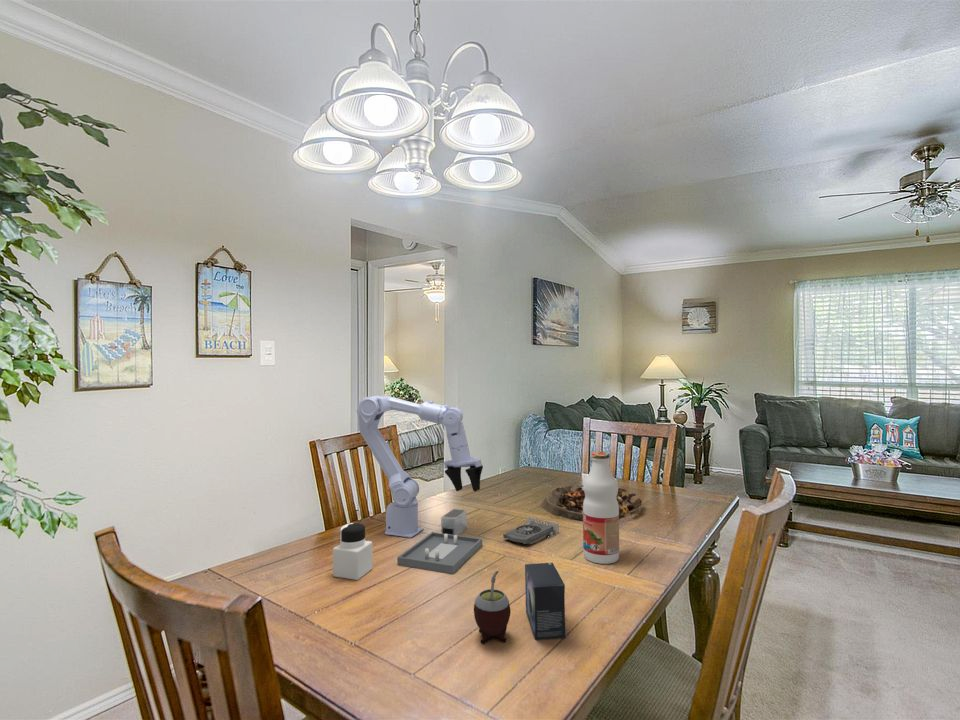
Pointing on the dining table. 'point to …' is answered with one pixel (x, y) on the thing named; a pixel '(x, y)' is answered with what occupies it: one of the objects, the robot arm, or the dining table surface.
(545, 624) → the small box
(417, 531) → the robot arm
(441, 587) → the dining table surface
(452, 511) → the block
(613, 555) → the fruit juice
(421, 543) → the tray
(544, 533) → the graphics card
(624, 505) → the food dish
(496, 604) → the mate gourd
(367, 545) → the medicine bottle
